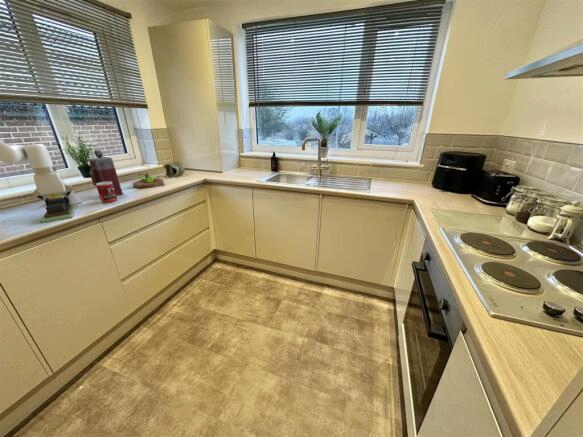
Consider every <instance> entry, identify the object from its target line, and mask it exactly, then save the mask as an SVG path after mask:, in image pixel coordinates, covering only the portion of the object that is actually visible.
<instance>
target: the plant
mask: <svg viewBox="0 0 583 437" xmlns="http://www.w3.org/2000/svg"><path fill="white" fill-rule="evenodd" d="M141 175H142V177H141V178H140V176H141ZM137 176H138V177H139V180H137V181H135V182H133V183H132V187H133V188H135V189H139V190H141V189H152V188H156V187H161V186H164V185H165V183H164V179H163V178H156V177H155V176H154V175H150V176H149V170H148V169H146V170H145V174H144V173H138V175H137Z"/></svg>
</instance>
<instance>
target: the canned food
mask: <svg viewBox="0 0 583 437" xmlns="http://www.w3.org/2000/svg"><path fill="white" fill-rule="evenodd" d="M95 188H96V190H97V192H98V195H99V199H100V201H101V202H102V204H110V203H115V202H117V201H118V197H117V196H116V193H115V190H114V187H113V184H112V182H110V181H107V182H100V183H97V184H96V186H95Z"/></svg>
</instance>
